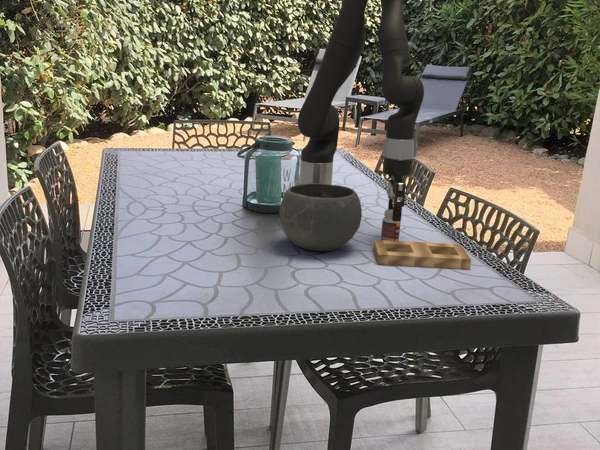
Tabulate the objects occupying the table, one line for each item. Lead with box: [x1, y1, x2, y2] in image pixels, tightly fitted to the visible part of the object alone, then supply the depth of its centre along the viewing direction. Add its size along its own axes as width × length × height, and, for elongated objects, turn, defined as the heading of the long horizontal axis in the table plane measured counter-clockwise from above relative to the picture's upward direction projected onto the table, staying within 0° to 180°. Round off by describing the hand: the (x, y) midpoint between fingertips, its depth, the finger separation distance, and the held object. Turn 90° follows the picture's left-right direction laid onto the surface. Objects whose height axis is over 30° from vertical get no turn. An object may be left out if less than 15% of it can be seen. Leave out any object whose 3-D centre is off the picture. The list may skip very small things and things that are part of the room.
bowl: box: [278, 183, 363, 252], centre depth 173 cm, size 20×20×15 cm
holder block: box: [372, 239, 472, 270], centre depth 170 cm, size 22×12×2 cm, turn 89°
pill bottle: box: [380, 209, 402, 241], centre depth 182 cm, size 5×5×8 cm
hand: (394, 216), depth 181 cm, fingers open, 8 cm apart
